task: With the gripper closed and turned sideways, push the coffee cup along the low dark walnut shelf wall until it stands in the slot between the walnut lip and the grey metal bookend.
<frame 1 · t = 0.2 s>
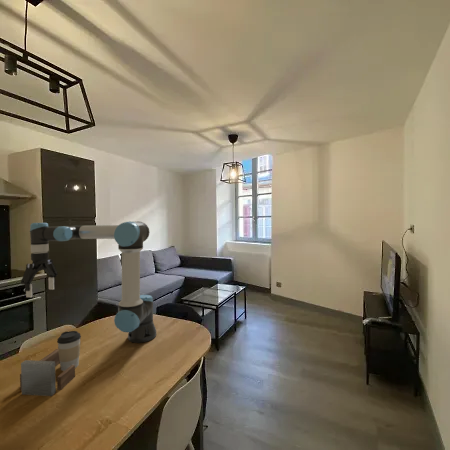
hand: (41, 293, 131), 28 cm above the table, fingers open, 13 cm apart
coffee cup: (69, 366, 113), on the table
walnut shelf wall: (42, 374, 107), on the table
grey bookend: (38, 393, 95), on the table
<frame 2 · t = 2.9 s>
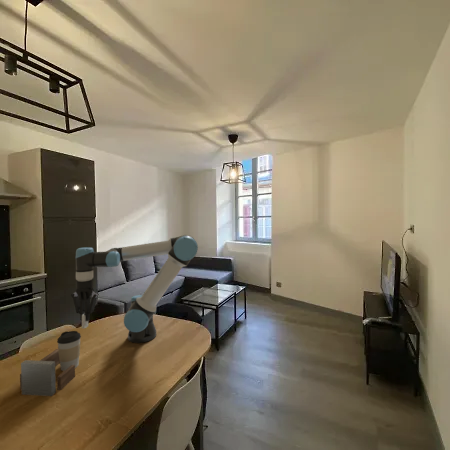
hand: (85, 327, 123), 13 cm above the table, fingers closed
nothing on the table moved.
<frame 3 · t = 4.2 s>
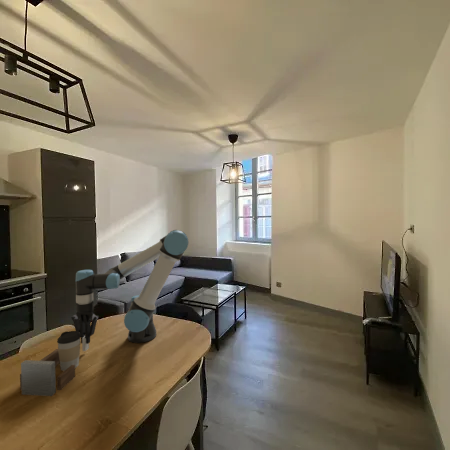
hand: (85, 349, 123), 2 cm above the table, fingers closed
nothing on the table moved.
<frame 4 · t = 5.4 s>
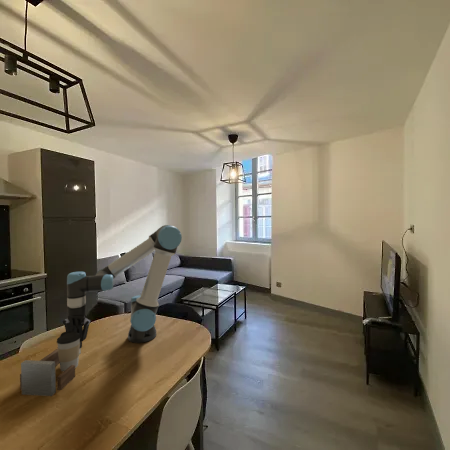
hand: (77, 354, 118), 2 cm above the table, fingers closed
coffee cup: (69, 367, 112), on the table, touching gripper
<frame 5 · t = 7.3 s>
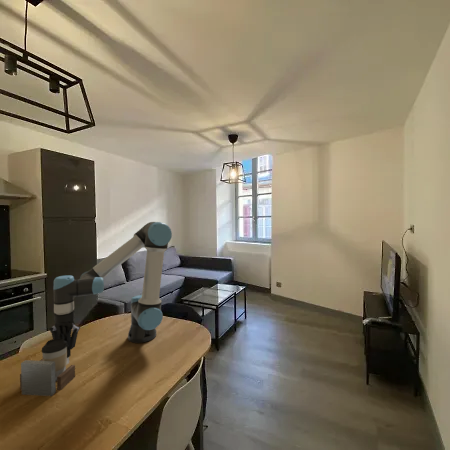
hand: (65, 364, 111), 2 cm above the table, fingers closed
coffee cup: (55, 377, 105), on the table, touching gripper
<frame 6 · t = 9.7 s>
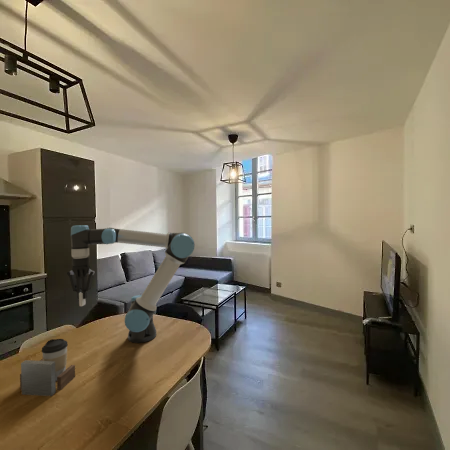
hand: (82, 305, 122), 24 cm above the table, fingers closed
coffee cup: (55, 377, 105), on the table
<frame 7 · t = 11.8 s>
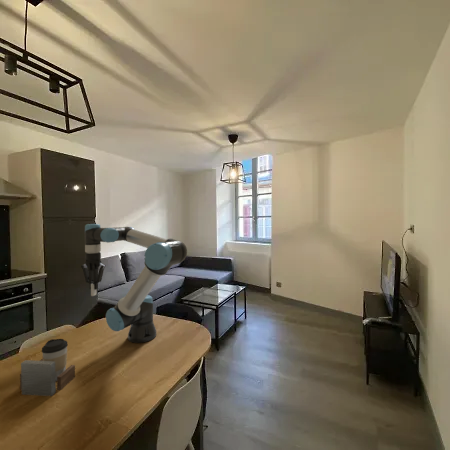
hand: (93, 295, 137), 24 cm above the table, fingers closed
nothing on the table moved.
at the end: coffee cup inside the target area (3.2 cm from its centre), on the table; coffee cup tilted 0°; coffee cup moved 7.7 cm from its start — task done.
